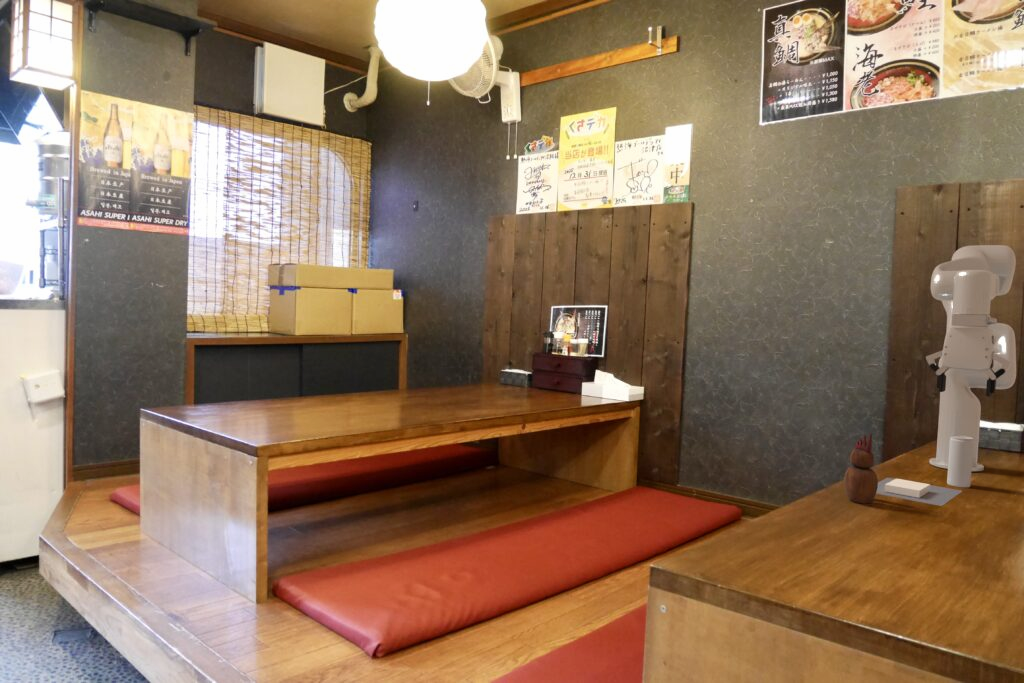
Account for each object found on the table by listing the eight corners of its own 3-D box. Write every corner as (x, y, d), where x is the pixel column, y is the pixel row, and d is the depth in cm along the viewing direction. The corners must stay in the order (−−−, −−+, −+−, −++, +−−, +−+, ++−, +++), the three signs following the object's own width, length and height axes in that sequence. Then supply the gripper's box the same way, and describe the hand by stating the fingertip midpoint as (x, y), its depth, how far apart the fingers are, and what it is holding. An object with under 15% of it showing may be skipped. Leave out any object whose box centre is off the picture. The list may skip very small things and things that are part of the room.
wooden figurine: (881, 506, 149) (885, 435, 148) (853, 505, 149) (857, 434, 148) (865, 497, 155) (869, 430, 155) (839, 496, 155) (843, 429, 155)
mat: (887, 479, 175) (887, 477, 175) (962, 492, 164) (962, 490, 164) (861, 492, 160) (861, 490, 160) (941, 507, 149) (941, 506, 149)
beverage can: (974, 490, 167) (977, 439, 166) (951, 488, 168) (954, 438, 167) (965, 485, 171) (968, 436, 171) (943, 483, 172) (946, 434, 172)
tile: (896, 478, 166) (884, 484, 160) (930, 484, 161) (919, 490, 155) (896, 485, 166) (884, 492, 160) (929, 491, 161) (919, 498, 155)
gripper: (1016, 323, 164) (1011, 396, 165) (932, 320, 176) (928, 388, 177) (1011, 323, 159) (1005, 399, 160) (924, 320, 171) (920, 390, 172)
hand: (965, 393), depth 169 cm, fingers open, 9 cm apart
